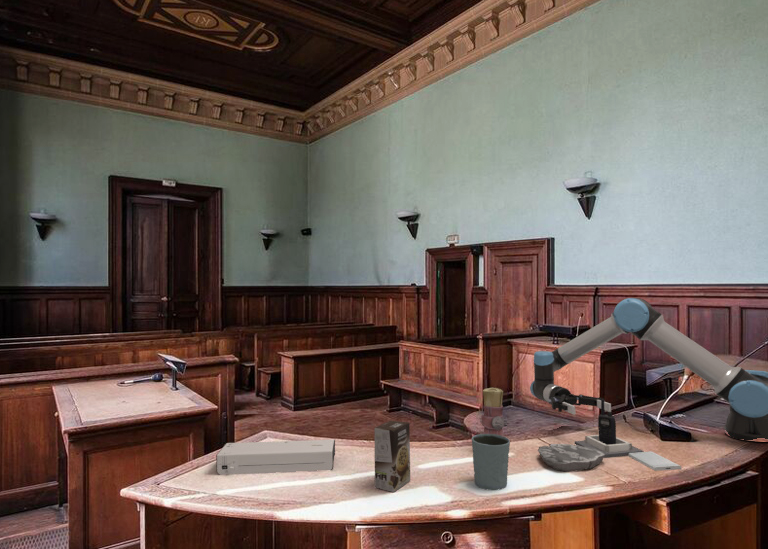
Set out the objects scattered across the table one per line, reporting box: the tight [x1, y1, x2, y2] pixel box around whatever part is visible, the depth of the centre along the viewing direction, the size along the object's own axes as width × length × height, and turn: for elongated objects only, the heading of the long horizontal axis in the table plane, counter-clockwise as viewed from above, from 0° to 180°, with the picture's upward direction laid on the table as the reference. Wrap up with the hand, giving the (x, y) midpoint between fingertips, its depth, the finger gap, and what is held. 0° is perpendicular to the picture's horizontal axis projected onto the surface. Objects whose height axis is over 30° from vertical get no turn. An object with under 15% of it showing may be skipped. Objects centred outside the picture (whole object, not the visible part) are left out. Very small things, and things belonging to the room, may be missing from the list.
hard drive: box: [627, 450, 682, 472], centre depth 145 cm, size 2×8×12 cm
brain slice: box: [537, 443, 605, 472], centre depth 147 cm, size 20×17×3 cm
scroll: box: [479, 387, 505, 436], centre depth 158 cm, size 8×8×20 cm
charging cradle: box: [574, 434, 645, 459], centre depth 158 cm, size 15×14×3 cm
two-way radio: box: [597, 398, 617, 445], centre depth 158 cm, size 6×4×15 cm
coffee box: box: [374, 420, 411, 493], centre depth 133 cm, size 9×6×16 cm
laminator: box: [215, 439, 336, 476], centre depth 148 cm, size 34×12×6 cm, turn 93°
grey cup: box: [471, 433, 511, 491], centre depth 132 cm, size 10×10×12 cm
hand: (592, 409), depth 165 cm, fingers open, 13 cm apart
